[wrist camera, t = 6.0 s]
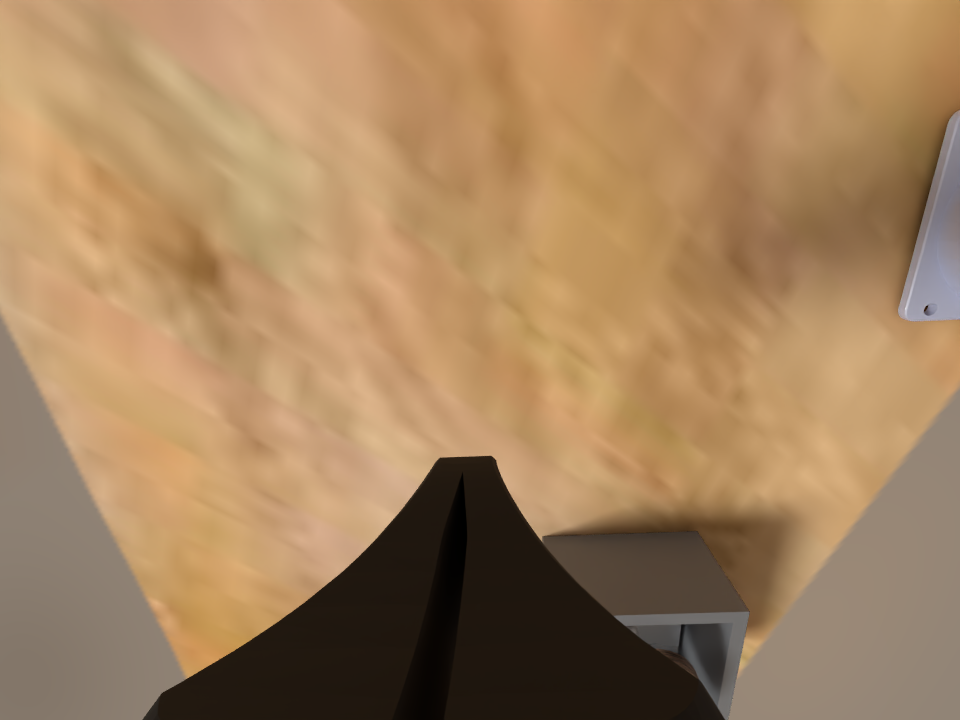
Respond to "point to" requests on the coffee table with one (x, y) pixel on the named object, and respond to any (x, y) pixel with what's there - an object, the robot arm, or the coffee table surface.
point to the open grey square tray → (665, 595)
